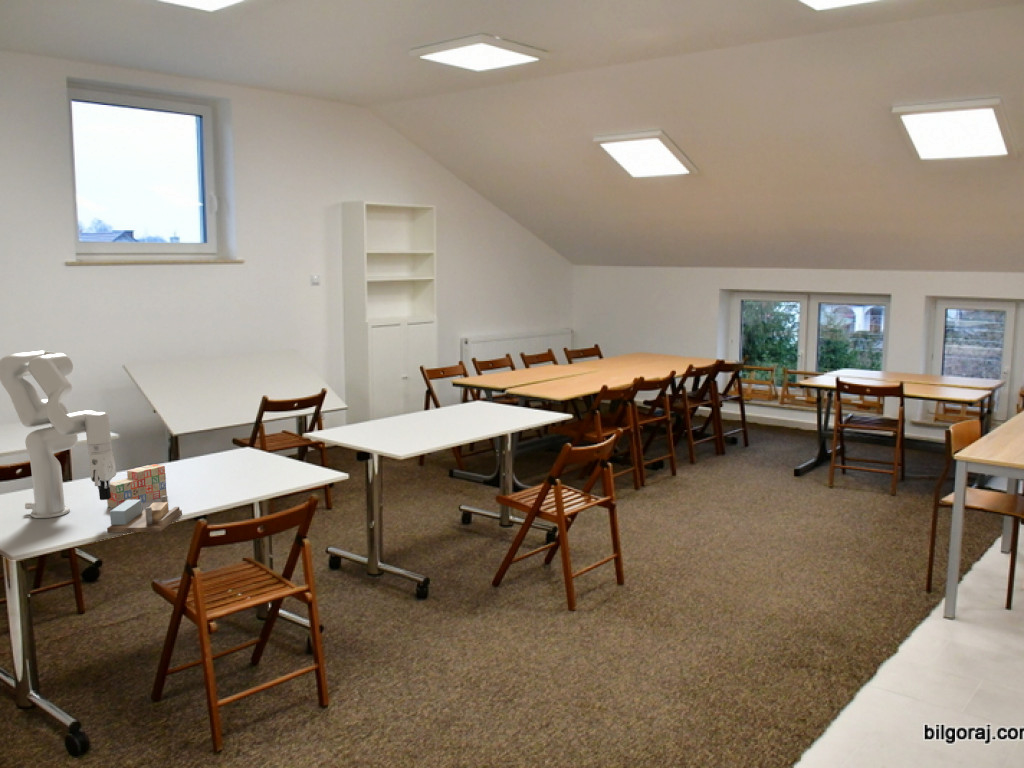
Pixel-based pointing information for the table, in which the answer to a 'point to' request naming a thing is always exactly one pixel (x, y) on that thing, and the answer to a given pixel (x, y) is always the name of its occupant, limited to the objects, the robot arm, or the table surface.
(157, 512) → the wooden block
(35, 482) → the robot arm
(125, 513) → the light blue long block
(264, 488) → the table surface
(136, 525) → the base
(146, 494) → the stack of blocks
